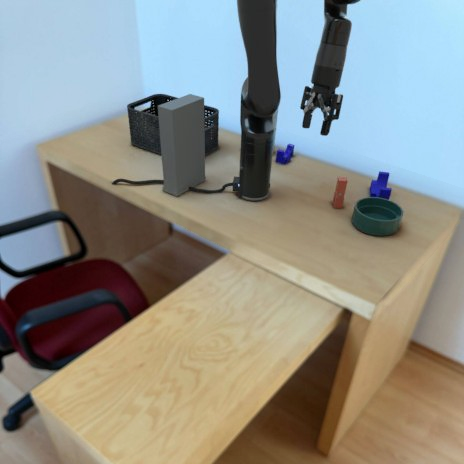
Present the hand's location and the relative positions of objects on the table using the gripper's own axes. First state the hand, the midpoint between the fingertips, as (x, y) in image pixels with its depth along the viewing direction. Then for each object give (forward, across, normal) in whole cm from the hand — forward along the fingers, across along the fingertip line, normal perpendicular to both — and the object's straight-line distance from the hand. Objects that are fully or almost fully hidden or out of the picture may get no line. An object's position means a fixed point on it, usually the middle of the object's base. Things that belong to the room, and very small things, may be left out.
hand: (314, 131), depth 121 cm
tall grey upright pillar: (+22, -23, -28) cm, 42 cm away
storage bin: (+17, -53, -20) cm, 59 cm away
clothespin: (+19, +6, +10) cm, 22 cm away
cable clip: (+17, +8, +24) cm, 30 cm away
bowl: (+20, +19, +13) cm, 31 cm away
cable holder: (+15, -27, +12) cm, 33 cm away
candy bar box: (+15, -37, +6) cm, 40 cm away
